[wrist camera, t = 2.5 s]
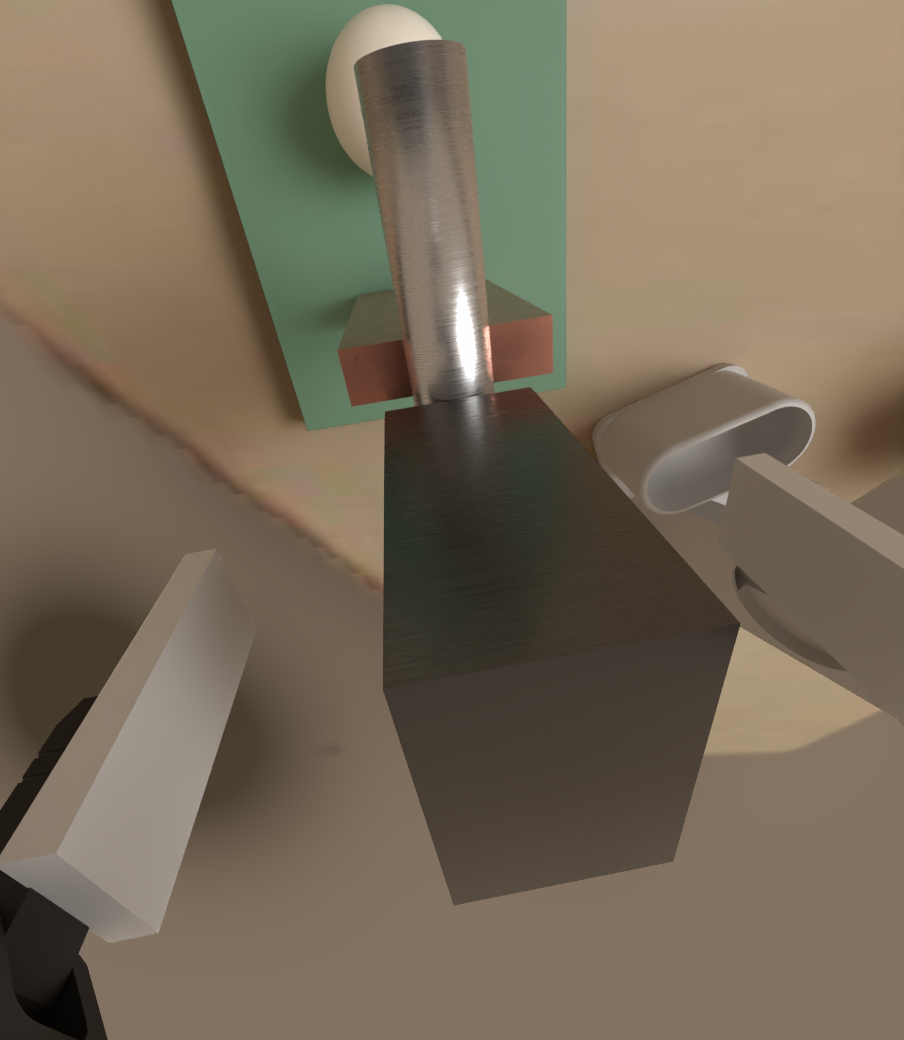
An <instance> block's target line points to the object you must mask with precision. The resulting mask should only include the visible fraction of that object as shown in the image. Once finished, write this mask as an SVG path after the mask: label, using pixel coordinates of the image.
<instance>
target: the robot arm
mask: <svg viewBox="0 0 904 1040" xmlns="http://www.w3.org/2000/svg"><path fill="white" fill-rule="evenodd" d="M717 546H718V547H719V548H720V549H721V550H722V551H723V552H724V553H725V554H726V555H727V556H728V557H729V558H730V559H731V560H732V561H733V562H734V563H735V564H737V565H738V566H739V567H740V568H741V569H742V570H743V571H744V572H745V573H746V574H747V575H748V576H749V577H750V578H751V579H752V580H753V581H754V582H755V583H756V584H757V585H758V586H759V587H760V588H761V589H762V590H764V591H765V592H766V593H767V594H768V595H769V596H770V597H771V598H772V599H773V600H774V601H775V602H776V603H777V604H778V605H779V606H780V607H781V608H782V609H783V610H784V611H785V612H786V613H787V614H788V615H790V616H791V617H792V618H793V619H794V620H795V621H796V622H797V623H798V624H799V625H800V626H801V627H802V628H803V629H804V630H805V631H806V632H807V633H808V634H809V635H810V636H811V637H812V638H813V639H814V640H815V641H817V642H818V643H819V644H820V645H821V646H822V647H823V648H824V649H825V650H826V651H827V652H828V653H829V654H830V655H831V656H832V657H833V658H834V659H835V660H836V661H837V662H838V663H839V664H840V665H841V666H843V667H844V668H845V669H846V670H847V671H848V672H849V673H850V674H851V675H852V676H853V677H854V678H855V679H856V680H857V681H858V682H859V683H860V684H861V685H862V686H863V687H864V688H865V689H866V690H867V691H868V692H870V693H871V694H872V695H873V696H874V697H875V698H876V699H877V700H878V701H879V702H880V703H881V704H882V705H883V706H884V707H885V708H886V709H887V710H888V711H889V712H890V713H891V714H892V715H893V716H894V717H896V718H897V719H898V720H899V721H900V722H901V723H902V724H903V725H904V535H902V534H901V533H899V532H897V531H895V530H894V529H892V528H890V527H889V526H887V525H885V524H884V523H882V522H880V521H879V520H877V519H875V518H874V517H872V516H870V515H869V514H867V513H865V512H864V511H862V510H860V509H858V508H857V507H855V506H853V505H852V504H850V503H848V502H847V501H845V500H843V499H842V498H840V497H838V496H837V495H835V494H833V493H832V492H830V491H828V490H827V489H825V488H823V487H822V486H820V485H818V484H816V483H815V482H813V481H811V480H810V479H808V478H806V477H805V476H803V475H801V474H800V473H798V472H796V471H795V470H793V469H791V468H790V467H788V466H786V465H785V464H783V463H781V462H779V461H778V460H776V459H774V458H773V457H771V456H769V455H768V454H766V453H762V454H756V455H750V456H745V457H739V458H736V460H735V464H734V469H733V474H732V478H731V483H730V488H729V492H728V497H727V502H726V506H725V511H724V516H723V521H722V525H721V530H720V535H719V539H718V544H717ZM256 629H257V628H256V627H255V625H254V622H253V620H252V618H251V616H250V615H249V613H248V611H247V608H246V606H245V604H244V602H243V601H242V598H241V597H240V594H239V593H238V590H237V588H236V586H235V584H234V582H233V580H232V578H231V576H230V574H229V572H228V570H227V568H226V566H225V564H224V562H223V560H222V558H221V556H220V554H219V552H218V550H217V549H213V550H208V551H202V552H196V553H190V554H185V556H184V557H183V559H182V561H181V562H180V564H179V566H178V567H177V569H176V570H175V572H174V574H173V575H172V577H171V579H170V580H169V582H168V584H167V585H166V587H165V588H164V590H163V592H162V593H161V595H160V597H159V598H158V600H157V601H156V603H155V605H154V606H153V608H152V609H151V611H150V613H149V614H148V616H147V618H146V619H145V621H144V622H143V624H142V626H141V627H140V629H139V631H138V632H137V634H136V636H135V637H134V639H133V640H132V642H131V644H130V645H129V647H128V648H127V650H126V652H125V653H124V655H123V657H122V658H121V660H120V661H119V663H118V665H117V666H116V668H115V670H114V671H113V673H112V675H111V676H110V678H109V679H108V681H107V683H106V684H105V686H104V687H103V689H102V691H101V692H100V694H99V696H95V697H90V698H84V699H83V700H82V701H81V702H80V703H79V704H78V705H77V706H76V707H75V708H74V709H73V710H72V711H71V712H70V713H69V714H68V715H66V717H64V718H63V719H62V720H61V721H60V722H59V723H58V724H57V726H56V727H55V729H54V730H53V732H52V733H51V735H50V736H49V738H48V739H47V741H46V742H45V744H44V745H43V747H42V748H41V750H40V751H39V753H38V754H39V757H38V758H36V759H34V760H33V762H32V763H31V765H30V766H29V768H28V769H27V771H26V772H25V774H24V776H23V781H22V783H18V784H17V786H16V787H15V789H14V791H13V792H12V794H11V795H10V796H9V798H8V800H7V801H6V802H5V804H4V805H3V807H2V809H1V810H0V1040H107V1036H106V1032H105V1029H104V1025H103V1021H102V1018H101V1014H100V1010H99V1007H98V1003H97V999H96V996H95V992H94V989H93V985H92V981H91V978H90V975H89V970H88V967H87V965H86V963H85V962H84V960H83V959H82V958H81V956H80V955H79V954H78V953H79V951H80V948H81V946H82V944H83V941H84V939H85V937H86V934H87V932H88V930H90V931H92V932H94V933H95V934H96V935H98V936H99V937H101V938H102V939H104V940H105V941H107V942H108V943H112V942H117V941H122V940H127V939H132V938H137V937H142V936H147V935H152V934H157V933H158V932H159V929H160V926H161V923H162V920H163V917H164V914H165V910H166V907H167V904H168V901H169V898H170V895H171V892H172V889H173V886H174V883H175V880H176V876H177V873H178V870H179V867H180V864H181V861H182V858H183V855H184V852H185V849H186V846H187V842H188V839H189V836H190V833H191V830H192V827H193V824H194V821H195V818H196V815H197V812H198V808H199V806H200V802H201V799H202V796H203V793H204V790H205V787H206V783H207V780H208V778H209V775H210V772H211V768H212V765H213V762H214V759H215V756H216V753H217V750H218V747H219V744H220V741H221V737H222V734H223V731H224V728H225V725H226V722H227V719H228V716H229V712H230V710H231V707H232V703H233V700H234V697H235V694H236V691H237V688H238V685H239V682H240V679H241V676H242V673H243V670H244V666H245V663H246V660H247V657H248V654H249V651H250V648H251V645H252V642H253V638H254V635H255V632H256Z"/></svg>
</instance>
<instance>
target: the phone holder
mask: <svg viewBox="0 0 904 1040" xmlns="http://www.w3.org/2000/svg"><path fill="white" fill-rule="evenodd" d="M814 431H815V415H814V412H813V410H812V409H811V407H810V406H809V405H808V404H807V403H806V402H804V401H802V400H800V399H798V398H796V397H793V396H791V395H789V394H786V393H784V392H781V391H779V390H777V389H774V388H772V387H770V386H767V385H765V384H762V383H760V382H758V381H755V380H753V379H751V378H748V375H747V373H746V371H745V370H744V369H743V368H741V367H739V366H736V365H734V364H731V363H722V364H719V365H716V366H714V367H712V368H710V369H707V370H705V371H703V372H701V373H699V374H696V375H694V376H692V377H690V378H688V379H685V380H683V381H681V382H679V383H676V384H674V385H672V386H670V387H668V388H665V389H663V390H661V391H659V392H656V393H654V394H652V395H650V396H648V397H645V398H643V399H641V400H639V401H636V402H634V403H632V404H630V405H628V406H625V407H623V408H621V409H619V410H616V411H614V412H612V413H610V414H608V415H606V416H604V417H603V418H602V419H600V420H599V422H598V423H597V424H596V426H595V428H594V430H593V434H592V440H593V444H594V448H595V451H596V455H597V458H598V461H599V465H600V466H601V467H602V468H603V469H604V470H605V471H606V473H607V474H608V475H609V476H610V477H611V478H612V479H613V480H614V481H615V483H616V484H617V485H618V486H619V487H620V488H621V489H622V490H623V492H624V493H625V494H626V495H627V496H628V497H629V498H630V499H631V501H632V502H633V503H634V504H635V505H636V506H637V507H638V508H639V510H640V511H641V512H642V513H643V514H644V515H645V516H646V517H647V519H648V520H649V521H650V522H651V523H652V524H653V525H654V526H655V528H656V529H657V530H658V531H659V532H660V533H661V534H662V535H663V537H664V538H665V539H666V540H667V541H668V542H669V543H670V544H671V546H672V547H673V548H674V549H675V550H676V551H677V552H678V553H679V555H680V556H681V557H682V558H683V559H684V560H685V561H686V562H687V564H688V565H689V566H690V567H691V568H692V569H693V570H694V571H695V573H696V574H697V575H698V576H699V577H700V578H701V579H702V580H703V582H704V583H705V584H706V585H707V586H708V587H709V588H710V589H711V591H712V592H713V593H714V594H715V595H716V596H717V597H718V598H719V600H720V601H721V602H722V603H723V604H724V605H725V606H726V607H727V609H728V610H729V611H730V612H731V613H732V614H733V615H734V616H735V618H736V619H737V620H738V621H739V622H740V627H742V628H743V629H745V630H747V631H748V632H750V633H752V634H754V635H755V636H757V637H759V638H760V639H762V640H764V641H765V642H767V643H769V644H771V645H772V646H774V647H776V648H777V649H779V650H781V651H782V652H784V653H786V654H788V655H789V656H791V657H793V658H794V659H796V660H798V661H800V662H801V663H803V664H805V665H806V666H808V667H810V668H811V669H813V670H815V671H817V672H818V673H820V674H822V675H823V676H825V677H827V678H828V679H830V680H832V681H834V682H835V683H837V684H839V685H840V686H842V687H844V688H845V689H847V690H849V691H851V692H852V693H854V694H856V695H857V696H859V697H861V698H863V699H864V700H866V701H868V702H869V703H871V704H873V705H874V706H876V707H878V708H880V709H881V710H883V711H885V712H886V713H888V714H890V715H892V714H891V713H890V712H889V711H888V710H887V709H886V708H885V707H884V706H883V705H882V704H881V703H880V702H879V701H878V700H877V699H876V698H875V697H874V696H873V695H872V694H871V693H870V692H868V691H867V690H866V689H865V688H864V687H863V686H862V685H861V684H860V683H859V682H858V681H857V680H856V679H855V678H854V677H853V676H852V675H851V674H850V673H849V672H848V671H847V670H846V669H845V668H844V667H843V666H841V665H840V664H839V663H838V662H837V661H836V660H835V659H834V658H833V657H832V656H831V655H830V654H829V653H828V652H827V651H826V650H825V649H824V648H823V647H822V646H821V645H820V644H819V643H818V642H817V641H815V640H814V639H813V638H812V637H811V636H810V635H809V634H808V633H807V632H806V631H805V630H804V629H803V628H802V627H801V626H800V625H799V624H798V623H797V622H796V621H795V620H794V619H793V618H792V617H791V616H790V615H788V614H787V613H786V612H785V611H784V610H783V609H782V608H781V607H780V606H779V605H778V604H777V603H776V602H775V601H774V600H773V599H772V598H771V597H770V596H769V595H768V594H767V593H766V592H765V591H764V590H762V589H761V588H760V587H759V586H758V585H757V584H756V583H755V582H754V581H753V580H752V579H751V578H750V577H749V576H748V575H747V574H746V573H745V572H744V571H743V570H742V569H741V568H740V567H739V566H738V565H737V564H735V563H734V562H733V561H732V560H731V559H730V558H729V557H728V556H727V555H726V554H725V553H724V552H723V551H722V550H721V549H720V548H719V547H718V546H717V544H718V539H719V535H720V530H721V525H722V521H723V516H724V511H725V506H726V502H727V497H728V492H729V488H730V483H731V478H732V474H733V469H734V464H735V460H736V458H739V457H745V456H750V455H756V454H762V453H766V454H768V455H769V456H771V457H773V458H774V459H776V460H778V461H779V462H781V463H783V464H785V465H786V466H790V465H791V464H792V463H794V462H795V461H796V460H797V459H798V458H799V457H800V456H801V455H802V454H803V453H804V451H805V450H806V449H807V447H808V445H809V444H810V442H811V440H812V438H813V435H814ZM851 504H852V505H853V506H855V507H857V508H858V509H860V510H862V511H864V512H865V513H867V514H869V515H870V516H872V517H874V518H875V519H877V520H879V521H880V522H882V523H884V524H885V525H887V526H889V527H890V528H892V529H894V530H895V531H897V532H899V533H901V534H902V535H904V470H903V471H901V472H900V473H898V474H897V475H895V476H893V477H892V478H890V479H889V480H887V481H886V482H884V483H882V484H881V485H879V486H878V487H876V488H875V489H873V490H871V491H870V492H868V493H867V494H865V495H864V496H862V497H860V498H859V499H857V500H856V501H854V502H853V503H851ZM892 716H893V715H892ZM893 717H894V716H893ZM895 718H896V717H895Z"/></svg>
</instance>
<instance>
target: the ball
mask: <svg viewBox="0 0 904 1040" xmlns="http://www.w3.org/2000/svg"><path fill="white" fill-rule="evenodd" d="M420 40H442V38H441V36H440V35H439V34H438V32H437V31H436V30H435V28H434V27H433V26H432V25H431V24H430V23H429V22H428V21H427V20H426V19H424V18H423V17H422V16H420V15H419V14H418V13H416V12H414V11H412V10H410V9H408V8H405V7H402V6H399V5H393V4H380V5H376V6H372V7H369V8H367V9H365V10H362V11H361V12H360V13H358V14H357V15H355V16H354V17H353V18H352V19H351V20H350V21H349V22H348V23H347V24H346V25H345V26H344V28H343V29H342V30H341V32H340V34H339V35H338V37H337V39H336V41H335V43H334V45H333V48H332V50H331V53H330V57H329V61H328V65H327V72H326V100H327V107H328V112H329V116H330V120H331V124H332V126H333V129H334V132H335V134H336V136H337V138H338V140H339V142H340V144H341V146H342V147H343V149H344V150H345V152H346V153H347V154H348V156H349V157H350V158H351V160H352V161H353V162H354V163H355V164H356V165H357V166H358V167H360V168H361V169H362V170H363V171H365V172H366V173H368V174H369V175H371V176H373V173H372V168H371V162H370V156H369V151H368V145H367V140H366V134H365V129H364V123H363V117H362V112H361V106H360V101H359V95H358V90H357V84H356V79H355V73H354V64H355V63H356V62H357V61H358V60H359V59H360V58H362V57H363V56H365V55H367V54H369V53H371V52H374V51H376V50H379V49H382V48H385V47H388V46H392V45H396V44H401V43H406V42H412V41H420Z"/></svg>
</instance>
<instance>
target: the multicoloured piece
mask: <svg viewBox="0 0 904 1040" xmlns="http://www.w3.org/2000/svg"><path fill="white" fill-rule="evenodd" d="M354 73H355V79H356V84H357V90H358V95H359V101H360V106H361V112H362V117H363V123H364V129H365V134H366V140H367V145H368V151H369V156H370V162H371V168H372V173H373V179H374V184H375V190H376V195H377V201H378V207H379V212H380V218H381V223H382V229H383V234H384V240H385V245H386V251H387V257H388V262H389V268H390V273H391V279H392V284H393V289H392V290H386V291H380V292H374V293H367V294H361V295H358V298H357V300H356V303H355V306H354V308H353V311H352V313H351V316H350V319H349V321H348V324H347V326H346V329H345V331H344V334H343V337H342V339H341V342H340V344H339V347H338V349H337V351H338V355H339V359H340V363H341V367H342V371H343V375H344V379H345V383H346V387H347V391H348V395H349V398H350V402H351V406H352V407H353V406H359V405H365V404H371V403H376V402H382V401H388V400H394V399H400V398H406V397H412V396H413V401H414V407H408V408H402V409H396V410H390V411H385V454H384V613H383V616H384V618H383V621H384V622H383V691H384V694H385V697H386V700H387V703H388V706H389V709H390V712H391V715H392V718H393V721H394V724H395V728H396V730H397V734H398V736H399V740H400V743H401V746H402V749H403V752H404V755H405V758H406V761H407V764H408V767H409V770H410V773H411V776H412V779H413V782H414V785H415V788H416V792H417V795H418V798H419V801H420V804H421V807H422V810H423V813H424V816H425V819H426V822H427V825H428V828H429V831H430V834H431V837H432V840H433V843H434V846H435V849H436V852H437V855H438V858H439V862H440V865H441V868H442V870H443V874H444V877H445V880H446V883H447V886H448V889H449V892H450V895H451V898H452V901H453V904H454V905H458V904H463V903H467V902H473V901H478V900H483V899H488V898H493V897H498V896H502V895H508V894H513V893H517V892H523V891H528V890H532V889H537V888H543V887H548V886H552V885H557V884H563V883H568V882H572V881H578V880H583V879H588V878H593V877H597V876H603V875H608V874H613V873H618V872H623V871H628V870H633V869H638V868H643V867H648V866H653V865H658V864H662V863H667V862H672V861H673V860H674V856H675V853H676V849H677V846H678V842H679V839H680V835H681V832H682V828H683V825H684V821H685V817H686V814H687V811H688V807H689V804H690V800H691V796H692V793H693V789H694V786H695V782H696V779H697V775H698V772H699V768H700V765H701V761H702V758H703V754H704V751H705V747H706V744H707V740H708V736H709V733H710V729H711V726H712V722H713V719H714V715H715V712H716V708H717V705H718V701H719V698H720V694H721V691H722V687H723V683H724V680H725V676H726V673H727V669H728V666H729V662H730V659H731V655H732V652H733V648H734V645H735V641H736V638H737V634H738V630H739V627H740V622H739V621H738V620H737V619H736V618H735V616H734V615H733V614H732V613H731V612H730V611H729V610H728V609H727V607H726V606H725V605H724V604H723V603H722V602H721V601H720V600H719V598H718V597H717V596H716V595H715V594H714V593H713V592H712V591H711V589H710V588H709V587H708V586H707V585H706V584H705V583H704V582H703V580H702V579H701V578H700V577H699V576H698V575H697V574H696V573H695V571H694V570H693V569H692V568H691V567H690V566H689V565H688V564H687V562H686V561H685V560H684V559H683V558H682V557H681V556H680V555H679V553H678V552H677V551H676V550H675V549H674V548H673V547H672V546H671V544H670V543H669V542H668V541H667V540H666V539H665V538H664V537H663V535H662V534H661V533H660V532H659V531H658V530H657V529H656V528H655V526H654V525H653V524H652V523H651V522H650V521H649V520H648V519H647V517H646V516H645V515H644V514H643V513H642V512H641V511H640V510H639V508H638V507H637V506H636V505H635V504H634V503H633V502H632V501H631V499H630V498H629V497H628V496H627V495H626V494H625V493H624V492H623V490H622V489H621V488H620V487H619V486H618V485H617V484H616V483H615V481H614V480H613V479H612V478H611V477H610V476H609V475H608V474H607V473H606V471H605V470H604V469H603V468H602V467H601V466H600V465H599V464H598V462H597V461H596V460H595V459H594V458H593V457H592V456H591V455H590V453H589V452H588V451H587V450H586V449H585V448H584V447H583V446H582V444H581V443H580V442H579V441H578V440H577V439H576V438H575V437H574V435H573V434H572V433H571V432H570V431H569V430H568V429H567V428H566V426H565V425H564V424H563V423H562V422H561V421H560V420H559V419H558V417H557V416H556V415H555V414H554V413H553V412H552V411H551V410H550V408H549V407H548V406H547V405H546V404H545V403H544V402H543V401H542V399H541V398H540V397H539V396H538V395H537V394H536V393H535V392H534V390H533V389H532V388H531V387H527V388H521V389H515V390H510V391H504V392H498V393H495V391H494V383H496V382H502V381H508V380H514V379H520V378H526V377H532V376H538V375H544V374H550V373H553V315H552V314H550V313H548V312H546V311H544V310H542V309H541V308H539V307H537V306H535V305H533V304H531V303H529V302H528V301H526V300H524V299H522V298H520V297H518V296H517V295H515V294H513V293H511V292H509V291H507V290H506V289H504V288H502V287H500V286H498V285H496V284H494V283H493V282H491V281H489V280H487V279H485V269H484V257H483V245H482V233H481V221H480V209H479V197H478V185H477V173H476V160H475V148H474V136H473V124H472V112H471V100H470V88H469V76H468V64H467V51H466V47H465V46H464V45H463V44H461V43H459V42H456V41H451V40H420V41H412V42H406V43H401V44H396V45H392V46H388V47H385V48H382V49H379V50H376V51H374V52H371V53H369V54H367V55H365V56H363V57H362V58H360V59H359V60H358V61H357V62H356V63H355V64H354Z"/></svg>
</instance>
